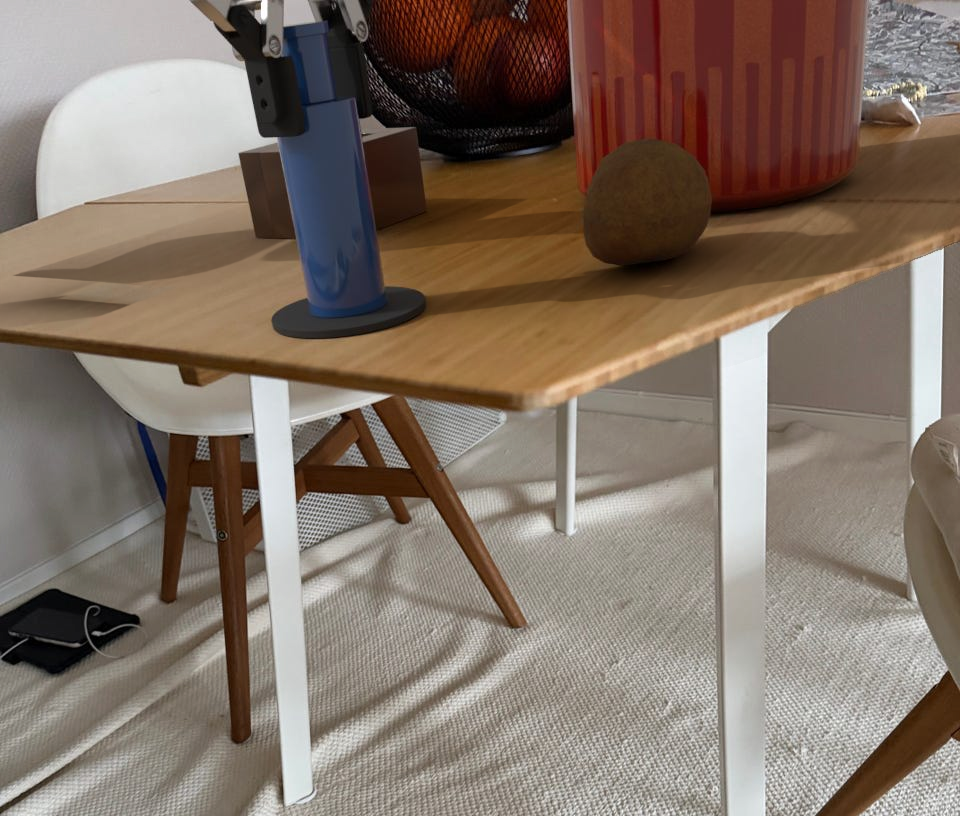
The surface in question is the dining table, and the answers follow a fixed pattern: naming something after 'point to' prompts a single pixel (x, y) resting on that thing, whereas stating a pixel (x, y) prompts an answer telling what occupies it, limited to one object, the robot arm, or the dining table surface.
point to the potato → (646, 203)
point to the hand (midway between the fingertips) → (317, 123)
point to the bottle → (330, 186)
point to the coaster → (305, 325)
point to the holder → (388, 176)
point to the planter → (723, 89)
